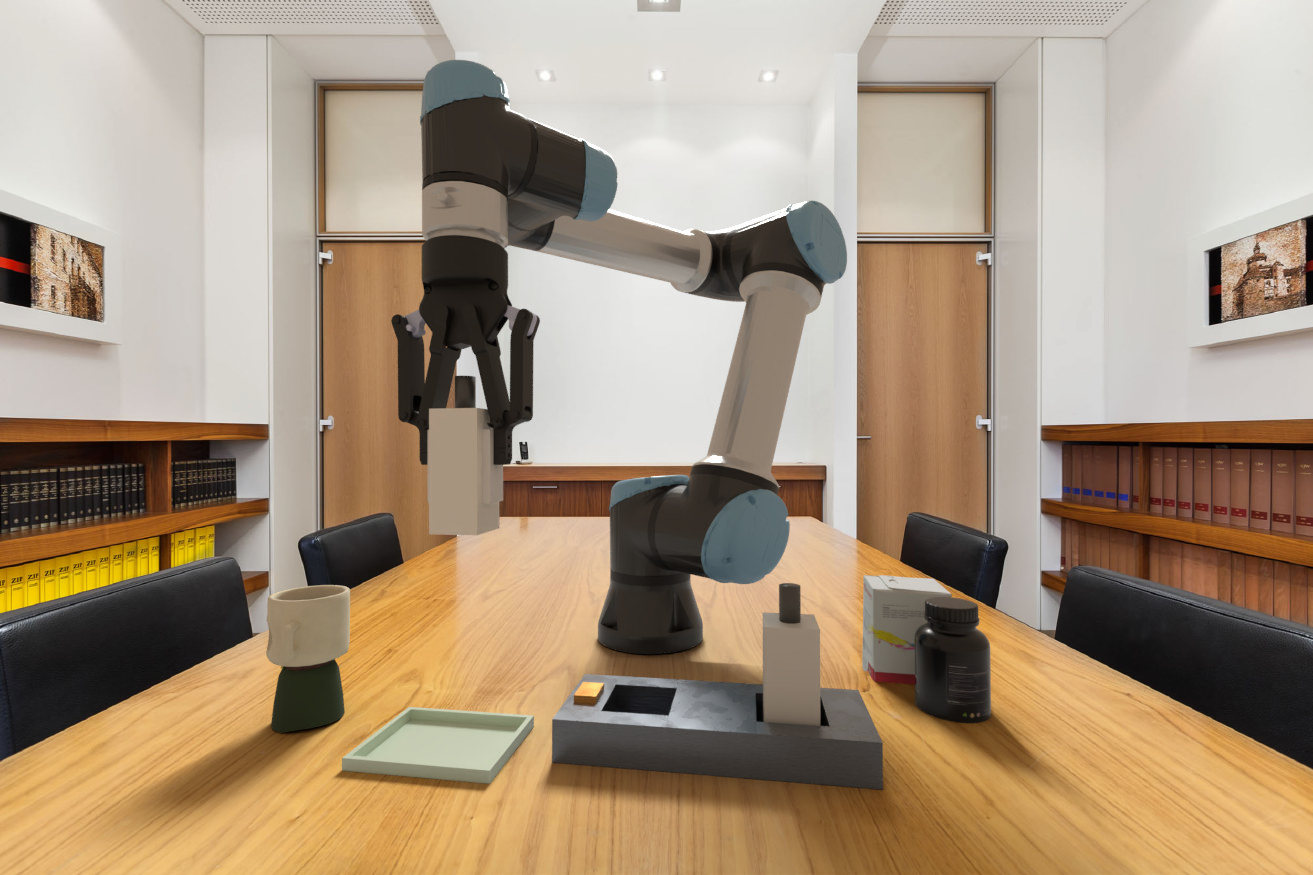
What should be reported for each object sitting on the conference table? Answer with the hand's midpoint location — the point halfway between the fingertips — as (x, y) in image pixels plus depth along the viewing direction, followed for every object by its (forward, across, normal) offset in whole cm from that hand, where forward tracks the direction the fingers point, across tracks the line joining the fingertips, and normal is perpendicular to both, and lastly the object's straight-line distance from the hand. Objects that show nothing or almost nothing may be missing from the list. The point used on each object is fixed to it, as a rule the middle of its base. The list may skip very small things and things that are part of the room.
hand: (465, 501), depth 54 cm
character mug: (+23, -18, +2) cm, 29 cm away
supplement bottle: (+23, +45, +13) cm, 52 cm away
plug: (+3, 0, 0) cm, 3 cm away
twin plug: (+21, +29, +2) cm, 36 cm away
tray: (+22, -2, 0) cm, 23 cm away
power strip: (+23, +22, +2) cm, 32 cm away
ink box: (+23, +43, +23) cm, 54 cm away
